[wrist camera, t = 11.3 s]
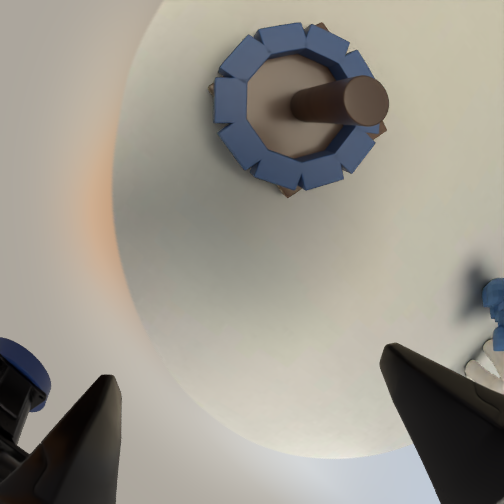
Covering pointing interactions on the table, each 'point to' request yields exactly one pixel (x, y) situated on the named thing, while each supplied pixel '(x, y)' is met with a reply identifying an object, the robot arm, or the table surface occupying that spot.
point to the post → (309, 105)
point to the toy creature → (483, 377)
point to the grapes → (496, 309)
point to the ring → (244, 136)
